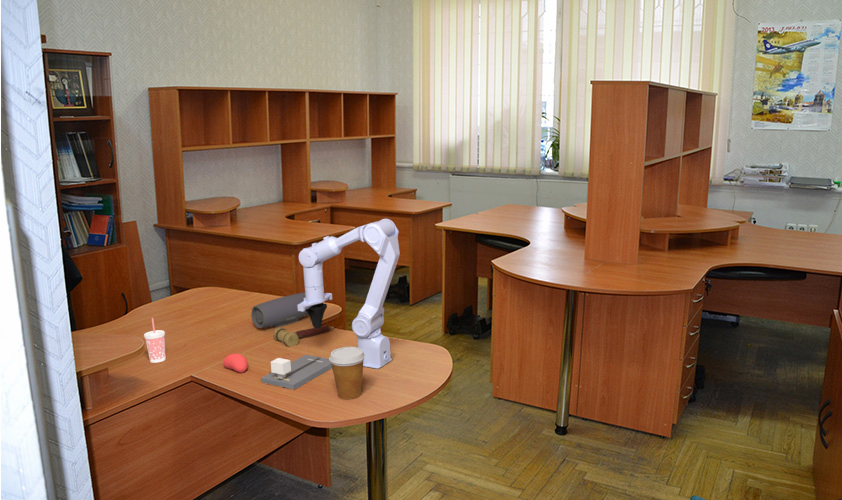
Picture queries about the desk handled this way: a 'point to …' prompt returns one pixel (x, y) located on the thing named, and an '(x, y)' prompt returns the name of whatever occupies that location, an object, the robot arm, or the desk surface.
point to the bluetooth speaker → (278, 311)
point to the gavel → (297, 334)
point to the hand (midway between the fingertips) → (317, 327)
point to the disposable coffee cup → (348, 371)
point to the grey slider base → (300, 372)
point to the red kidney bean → (236, 362)
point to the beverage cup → (155, 344)
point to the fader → (280, 367)
